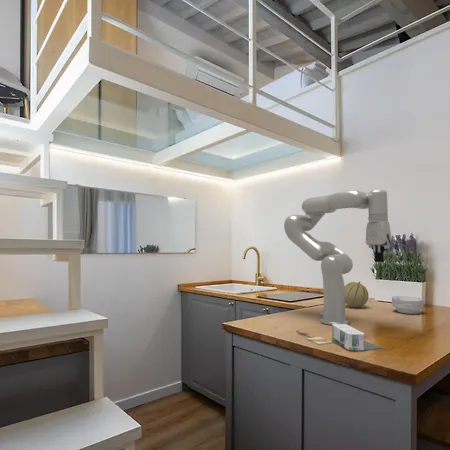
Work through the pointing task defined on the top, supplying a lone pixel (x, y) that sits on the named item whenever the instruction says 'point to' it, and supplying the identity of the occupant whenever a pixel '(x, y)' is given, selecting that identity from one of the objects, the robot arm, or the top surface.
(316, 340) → the turner
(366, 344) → the mat
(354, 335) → the syrup box
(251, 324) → the top surface
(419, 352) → the top surface
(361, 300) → the cantaloupe
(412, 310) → the paper bowls
